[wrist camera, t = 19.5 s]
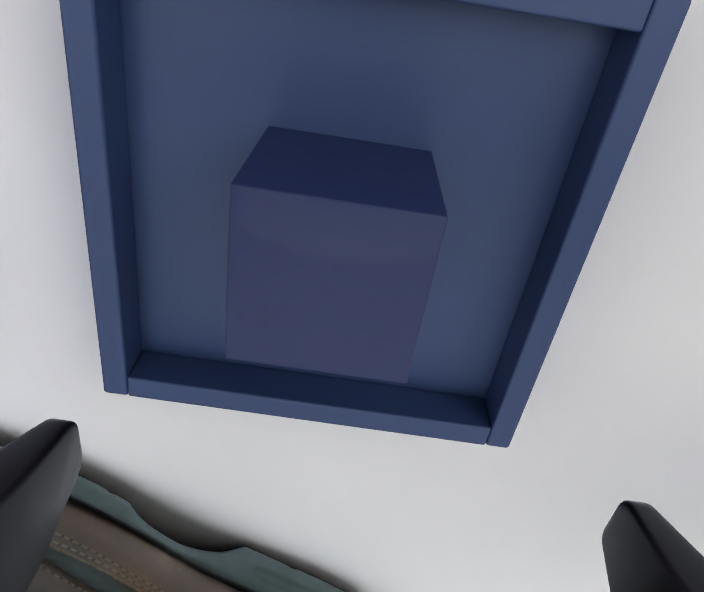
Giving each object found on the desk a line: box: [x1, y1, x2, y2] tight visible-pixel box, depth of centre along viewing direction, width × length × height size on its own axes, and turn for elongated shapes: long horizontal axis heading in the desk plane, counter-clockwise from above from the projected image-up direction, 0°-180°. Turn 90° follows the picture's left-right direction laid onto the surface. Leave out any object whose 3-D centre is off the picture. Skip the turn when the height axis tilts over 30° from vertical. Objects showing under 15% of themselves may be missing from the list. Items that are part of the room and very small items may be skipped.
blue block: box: [225, 126, 448, 383], centre depth 14 cm, size 4×4×4 cm
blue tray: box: [59, 0, 691, 448], centre depth 16 cm, size 14×14×2 cm
